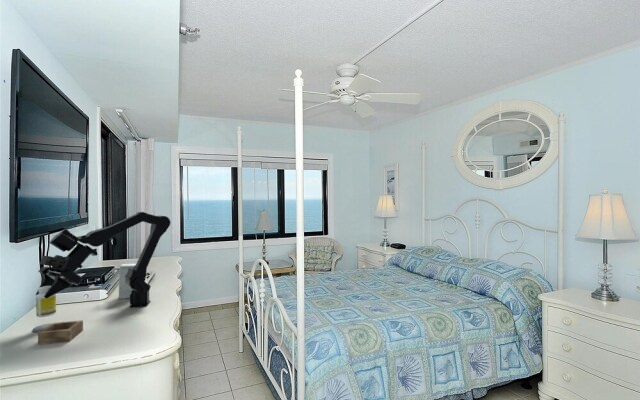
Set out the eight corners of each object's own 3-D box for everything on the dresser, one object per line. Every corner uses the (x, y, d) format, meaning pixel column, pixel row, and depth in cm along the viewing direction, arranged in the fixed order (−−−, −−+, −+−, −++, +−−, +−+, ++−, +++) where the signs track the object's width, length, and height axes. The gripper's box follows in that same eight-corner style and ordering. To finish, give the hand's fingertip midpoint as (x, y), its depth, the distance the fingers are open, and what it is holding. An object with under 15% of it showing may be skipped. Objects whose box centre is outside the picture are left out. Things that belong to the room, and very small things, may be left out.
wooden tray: (83, 330, 114) (82, 320, 114) (70, 341, 106) (69, 330, 106) (53, 332, 112) (53, 322, 112) (37, 344, 104) (37, 333, 104)
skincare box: (118, 299, 149) (117, 266, 149) (122, 295, 155) (121, 263, 155) (139, 297, 152) (138, 265, 151) (142, 293, 157) (141, 262, 157)
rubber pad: (62, 323, 121) (62, 322, 121) (51, 331, 114) (51, 329, 114) (40, 325, 119) (40, 324, 119) (27, 333, 113) (27, 331, 113)
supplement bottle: (60, 312, 119) (59, 285, 119) (46, 317, 114) (45, 289, 114) (46, 311, 120) (45, 284, 120) (32, 317, 114) (31, 289, 114)
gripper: (43, 244, 124) (6, 281, 115) (71, 247, 116) (33, 287, 106) (68, 261, 131) (35, 297, 122) (95, 265, 123) (62, 304, 113)
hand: (41, 296), depth 116 cm, fingers closed on supplement bottle, 5 cm apart
